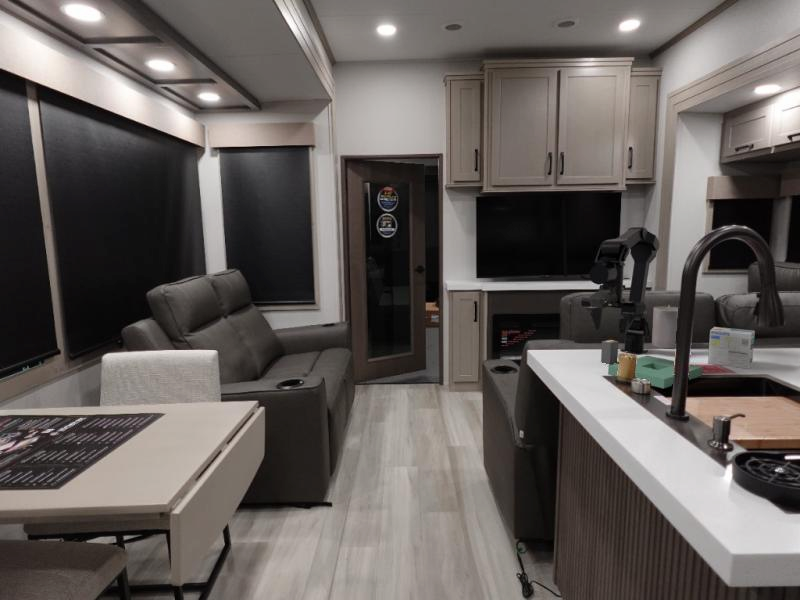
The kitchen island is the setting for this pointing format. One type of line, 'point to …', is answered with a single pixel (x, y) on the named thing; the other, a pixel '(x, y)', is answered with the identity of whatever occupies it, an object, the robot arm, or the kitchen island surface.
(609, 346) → the plug block
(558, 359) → the kitchen island surface
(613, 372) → the socket board
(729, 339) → the light bulb box
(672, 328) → the pillar candle
